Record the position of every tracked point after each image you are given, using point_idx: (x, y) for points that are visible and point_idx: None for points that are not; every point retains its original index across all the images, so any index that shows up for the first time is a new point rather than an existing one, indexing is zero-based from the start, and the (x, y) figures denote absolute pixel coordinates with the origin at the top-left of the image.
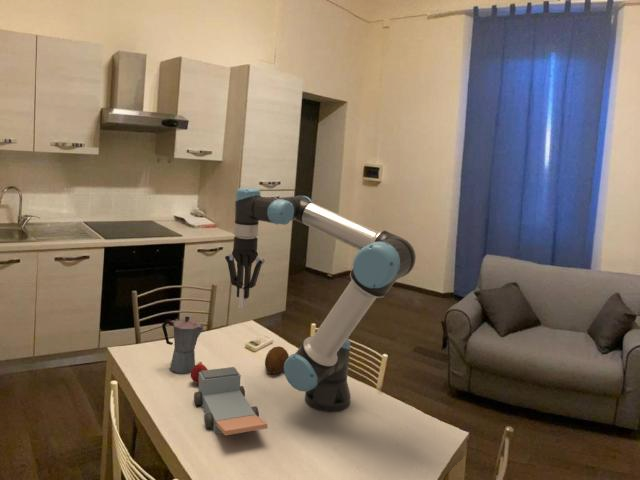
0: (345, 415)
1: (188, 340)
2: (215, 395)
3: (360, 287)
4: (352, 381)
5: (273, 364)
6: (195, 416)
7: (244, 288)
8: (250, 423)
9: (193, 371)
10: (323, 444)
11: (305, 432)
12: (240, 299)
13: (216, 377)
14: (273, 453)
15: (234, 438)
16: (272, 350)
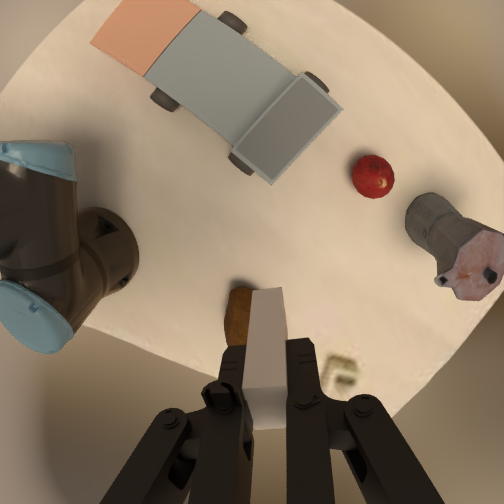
0: None
1: (450, 231)
2: (270, 92)
3: None
4: (113, 331)
5: (233, 297)
6: (283, 45)
7: (223, 390)
8: (120, 28)
9: (383, 161)
10: (45, 117)
11: (76, 126)
12: (271, 323)
13: (279, 101)
14: None
15: None
16: None
